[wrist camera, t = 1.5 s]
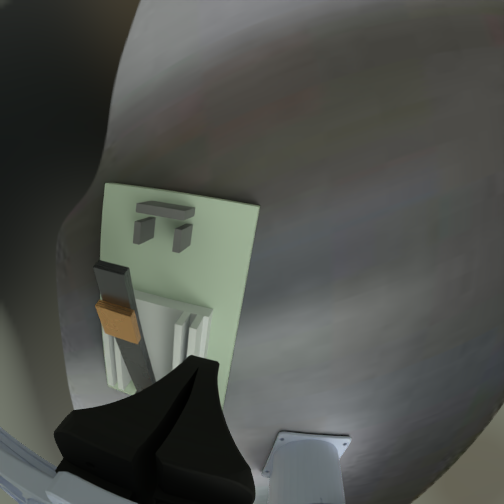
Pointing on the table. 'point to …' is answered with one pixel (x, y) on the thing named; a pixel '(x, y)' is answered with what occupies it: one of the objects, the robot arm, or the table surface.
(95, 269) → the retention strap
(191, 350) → the heatsink board
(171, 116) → the table surface
